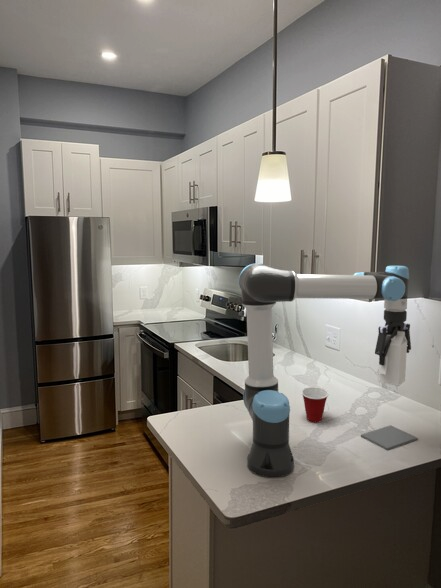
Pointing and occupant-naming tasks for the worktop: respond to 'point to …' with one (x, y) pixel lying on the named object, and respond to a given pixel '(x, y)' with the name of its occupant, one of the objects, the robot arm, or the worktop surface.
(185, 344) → the worktop surface
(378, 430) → the gray mat
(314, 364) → the worktop surface
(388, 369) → the milk carton
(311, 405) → the plastic cup
